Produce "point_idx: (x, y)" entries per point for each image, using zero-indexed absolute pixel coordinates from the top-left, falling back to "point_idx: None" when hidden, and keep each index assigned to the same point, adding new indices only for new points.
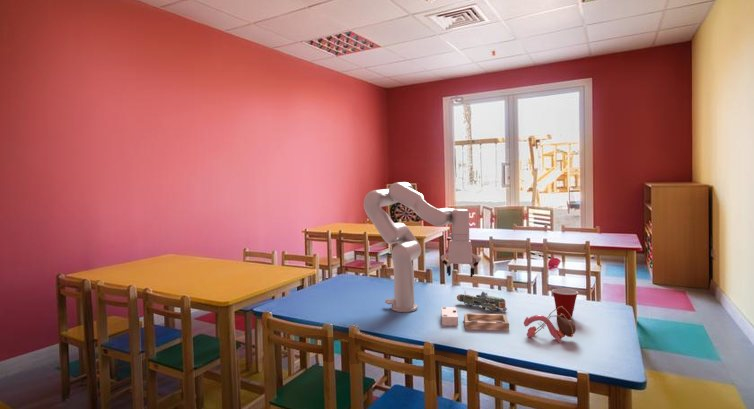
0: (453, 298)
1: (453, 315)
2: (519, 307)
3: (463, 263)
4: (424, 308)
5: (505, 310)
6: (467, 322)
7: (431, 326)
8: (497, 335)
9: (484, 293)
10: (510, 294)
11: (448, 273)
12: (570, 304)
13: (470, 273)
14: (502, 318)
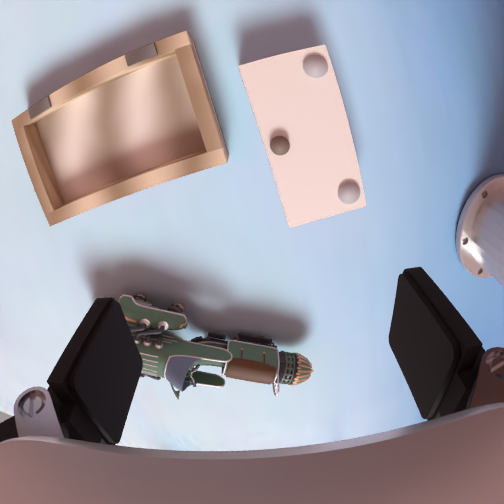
0: (327, 388)
1: (269, 81)
2: None
3: (135, 455)
4: (430, 251)
5: None
6: (175, 35)
7: (359, 24)
8: (56, 43)
9: (173, 378)
10: (160, 445)
11: (429, 280)
12: None
13: (99, 328)
14: (61, 204)
